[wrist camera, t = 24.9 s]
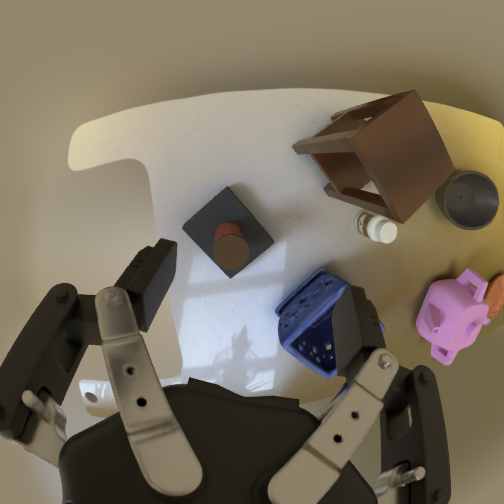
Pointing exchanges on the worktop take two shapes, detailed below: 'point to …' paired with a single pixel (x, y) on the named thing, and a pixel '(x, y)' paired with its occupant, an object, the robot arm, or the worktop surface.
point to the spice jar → (230, 246)
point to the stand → (382, 155)
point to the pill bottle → (375, 226)
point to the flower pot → (312, 321)
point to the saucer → (495, 296)
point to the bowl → (468, 200)
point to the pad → (222, 211)
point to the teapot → (453, 314)
